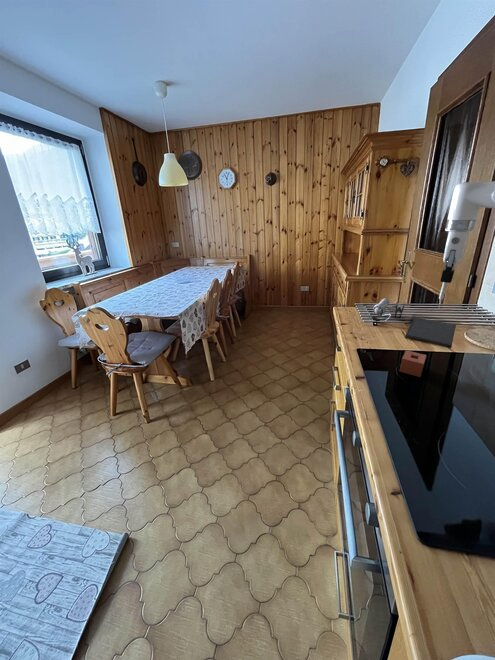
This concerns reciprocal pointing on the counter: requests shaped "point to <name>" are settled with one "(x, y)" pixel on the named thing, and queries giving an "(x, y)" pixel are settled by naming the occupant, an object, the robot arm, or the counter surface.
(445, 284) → the stylus
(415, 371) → the reddish-brown block
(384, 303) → the clip-on lamp
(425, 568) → the counter surface
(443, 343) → the plate
